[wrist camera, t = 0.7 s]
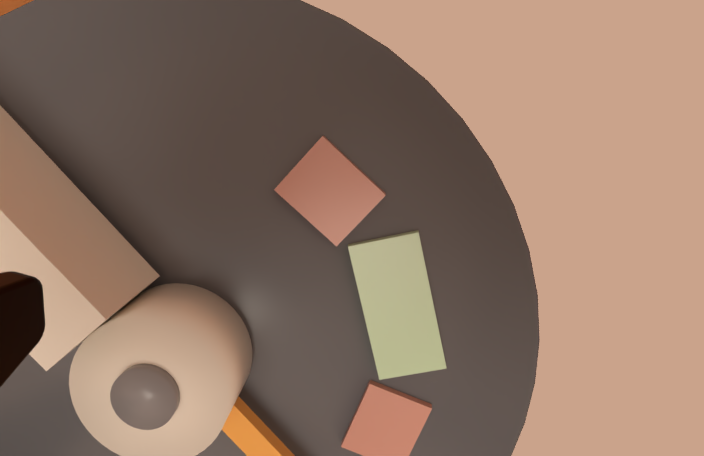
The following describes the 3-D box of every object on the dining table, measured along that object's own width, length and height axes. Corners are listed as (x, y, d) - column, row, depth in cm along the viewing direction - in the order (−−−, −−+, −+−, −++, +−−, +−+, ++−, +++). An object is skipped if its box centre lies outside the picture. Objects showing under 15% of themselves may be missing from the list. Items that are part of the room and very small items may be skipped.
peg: (423, 514, 21) (429, 604, 18) (323, 579, 22) (308, 676, 19) (-21, 32, 18) (-127, 19, 15) (-114, 134, 19) (-233, 146, 16)
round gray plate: (192, 684, 26) (180, 719, 25) (-236, 284, 23) (-279, 297, 21) (669, 381, 21) (689, 403, 20) (206, -200, 18) (189, -225, 16)
